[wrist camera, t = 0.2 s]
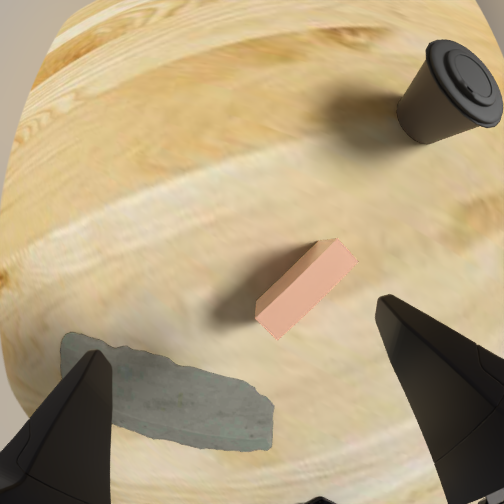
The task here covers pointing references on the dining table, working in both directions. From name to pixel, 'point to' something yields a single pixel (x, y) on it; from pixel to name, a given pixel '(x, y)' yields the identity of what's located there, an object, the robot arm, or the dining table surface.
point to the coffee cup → (449, 95)
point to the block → (303, 286)
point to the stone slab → (178, 399)
